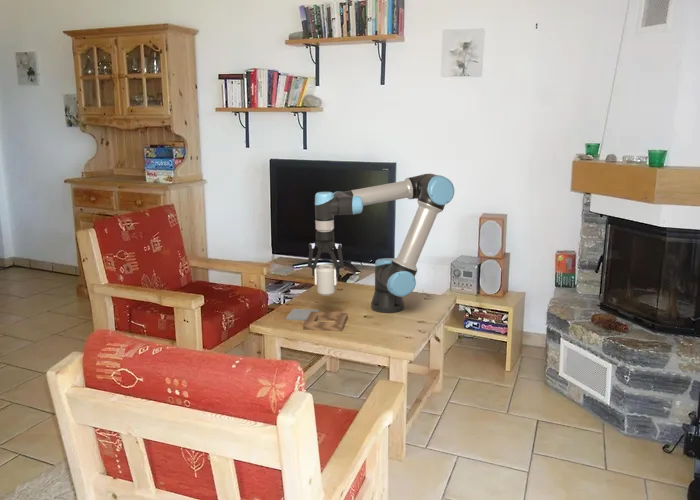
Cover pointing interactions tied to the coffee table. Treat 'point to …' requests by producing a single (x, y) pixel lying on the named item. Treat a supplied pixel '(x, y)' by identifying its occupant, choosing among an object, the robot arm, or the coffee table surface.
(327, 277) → the can
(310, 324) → the pocket block
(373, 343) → the coffee table surface
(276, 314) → the coffee table surface
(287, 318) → the plate
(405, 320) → the coffee table surface
